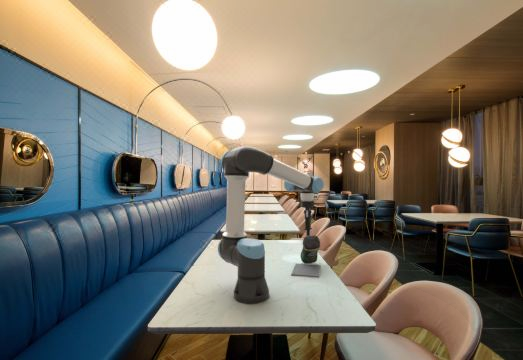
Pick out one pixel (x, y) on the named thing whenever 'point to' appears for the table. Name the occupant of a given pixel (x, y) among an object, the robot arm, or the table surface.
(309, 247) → the coffee jar
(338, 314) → the table surface
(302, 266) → the mat
